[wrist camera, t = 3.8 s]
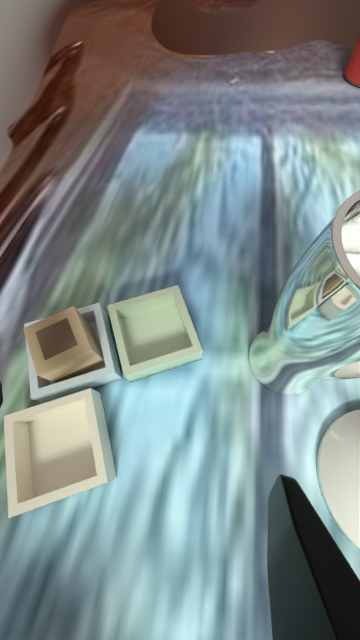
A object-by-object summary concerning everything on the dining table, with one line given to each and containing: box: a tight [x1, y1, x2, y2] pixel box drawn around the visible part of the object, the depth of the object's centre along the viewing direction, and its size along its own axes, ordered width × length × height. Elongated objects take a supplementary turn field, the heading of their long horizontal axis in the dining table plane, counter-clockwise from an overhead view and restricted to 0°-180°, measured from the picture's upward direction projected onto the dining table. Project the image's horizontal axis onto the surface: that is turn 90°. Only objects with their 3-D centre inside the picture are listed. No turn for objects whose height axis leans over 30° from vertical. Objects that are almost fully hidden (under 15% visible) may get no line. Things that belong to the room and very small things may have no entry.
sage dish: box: [107, 285, 203, 382], centre depth 23 cm, size 6×6×2 cm
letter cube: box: [23, 306, 105, 383], centre depth 21 cm, size 4×4×4 cm
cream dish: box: [4, 388, 117, 518], centre depth 19 cm, size 6×6×2 cm
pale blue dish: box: [24, 303, 122, 402], centre depth 22 cm, size 6×6×2 cm
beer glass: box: [249, 191, 360, 395], centre depth 16 cm, size 7×7×15 cm
